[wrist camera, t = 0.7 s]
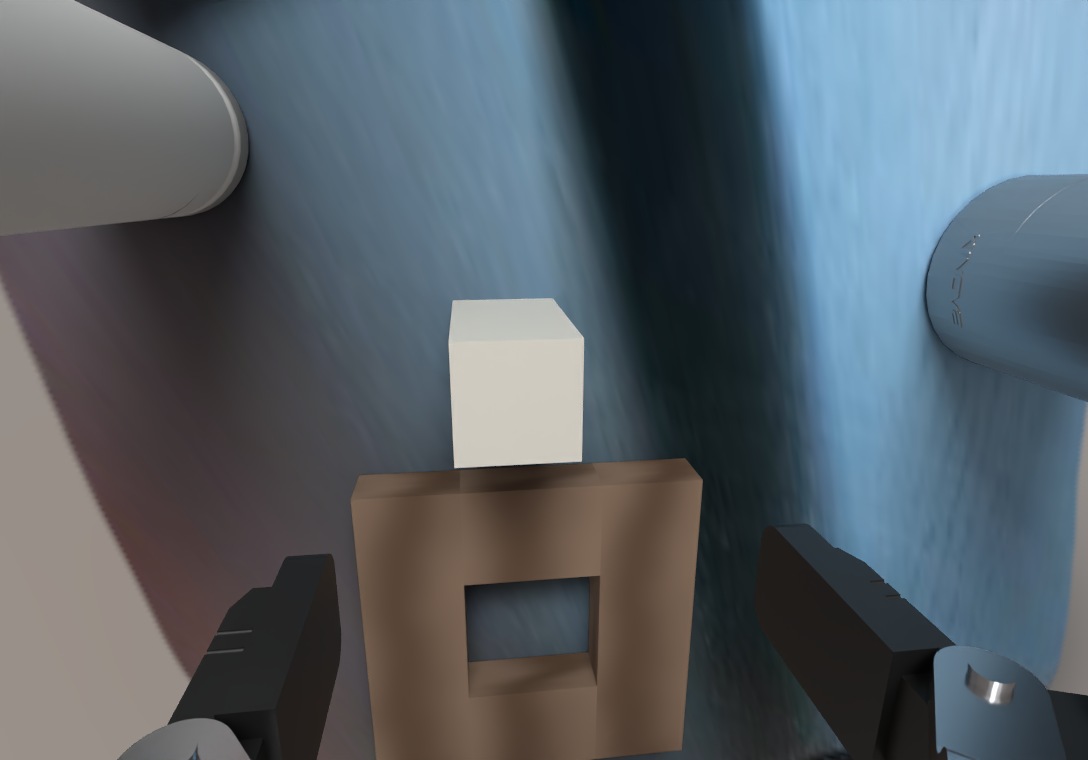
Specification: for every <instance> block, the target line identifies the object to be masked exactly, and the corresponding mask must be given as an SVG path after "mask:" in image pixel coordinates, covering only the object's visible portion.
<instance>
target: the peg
mask: <svg viewBox="0 0 1088 760" xmlns="http://www.w3.org/2000/svg"><path fill="white" fill-rule="evenodd" d="M449 362H450V384H451V405H452V427H453V449H454V468H465V467H485V466H504V465H524V464H543V463H563V462H582V425H583V367H584V338H583V336H582V335H581V334H580V333H579V331H578V330H577V329H576V327H575V326H574V325H573V324H572V322H571V321H570V320H569V319H568V317H567V316H566V315H565V314H564V312H563V311H562V310H561V308H560V307H559V306H558V305H557V303H556V302H555V301H554V300H553V298H549V299H502V300H456V301H453V303H452V313H451V323H450V333H449Z"/></svg>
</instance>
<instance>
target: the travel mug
mask: <svg viewBox="0 0 1088 760" xmlns="http://www.w3.org/2000/svg"><path fill="white" fill-rule="evenodd" d="M247 158H248V133H247V128H246V123H245V119H244V117H243V114H242V112H241V109H240V107H239V104H238V103H237V101H236V99H235V98H234V96H233V94H232V93H231V91H230V90H229V88H228V87H227V86H226V85H225V84H224V82H223V81H222V80H221V79H220V78H219V77H218V76H217V75H216V74H215V73H214V72H213V71H211V70H210V69H209V68H208V67H207V66H205V65H204V64H203V63H201V62H199V61H198V60H196V59H194V58H192V57H191V56H189V55H187V54H185V53H183V52H181V51H179V50H177V49H174V48H172V47H170V46H168V45H166V44H164V43H162V42H160V41H158V40H156V39H154V38H151V37H149V36H147V35H145V34H143V33H141V32H139V31H137V30H135V29H133V28H130V27H128V26H126V25H124V24H122V23H120V22H118V21H116V20H114V19H112V18H110V17H107V16H105V15H103V14H101V13H99V12H97V11H95V10H93V9H91V8H89V7H86V6H84V5H82V4H80V3H78V2H76V1H74V0H0V236H3V235H12V234H22V233H31V232H41V231H50V230H59V229H69V228H78V227H88V226H97V225H106V224H116V223H125V222H134V221H144V220H153V219H163V218H172V217H181V216H191V215H195V214H198V213H202V212H205V211H208V210H210V209H211V208H213V207H215V206H217V205H219V204H220V203H221V202H223V201H224V200H225V199H226V198H227V197H228V196H229V195H230V194H231V193H232V192H233V190H234V189H235V188H236V186H237V185H238V184H239V182H240V180H241V177H242V175H243V173H244V170H245V168H246V163H247Z"/></svg>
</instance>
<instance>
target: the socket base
mask: <svg viewBox="0 0 1088 760" xmlns="http://www.w3.org/2000/svg"><path fill="white" fill-rule="evenodd" d="M702 483H703V480H702V479H701V477H700V476H699V475H698V474H697V472H696V471H695V470H694V469H693V468H692V466H691V465H690V464H689V463H688V461H687V460H686V459H685V458H682V459H663V460H643V461H624V462H605V463H586V464H567V465H547V466H528V467H509V468H490V469H470V470H451V471H432V472H413V473H394V474H374V475H359V478H358V481H357V483H356V486H355V489H354V492H353V494H352V497H351V509H352V519H353V530H354V540H355V550H356V560H357V570H358V580H359V590H360V600H361V610H362V620H363V630H364V640H365V650H366V660H367V670H368V680H369V690H370V700H371V710H372V720H373V730H374V740H375V750H376V760H591V759H601V758H610V757H620V756H629V755H639V754H648V753H657V752H667V751H676V750H682V738H683V726H684V713H685V700H686V687H687V675H688V662H689V649H690V636H691V623H692V611H693V598H694V585H695V572H696V559H697V547H698V534H699V521H700V508H701V495H702ZM587 576H590V587H589V631H588V652H583V653H571V654H560V655H548V656H537V657H525V658H514V659H502V660H490V661H479V662H468V640H467V617H466V594H465V585H477V584H491V583H505V582H519V581H532V580H546V579H560V578H574V577H587Z"/></svg>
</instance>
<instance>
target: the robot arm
mask: <svg viewBox="0 0 1088 760" xmlns="http://www.w3.org/2000/svg"><path fill="white" fill-rule="evenodd" d="M926 298H927V305H928V313H929V316H930V319H931V322H932V324H933V327H934V330H935V332H936V333H937V334H938V336H939V337H940V339H941V340H942V342H943V343H944V344H945V345H946V346H947V347H948V348H949V349H951V350H952V351H953V352H954V353H955V354H956V355H958V356H961V357H963V358H965V359H967V360H969V361H971V362H974V363H977V364H980V365H983V366H986V367H989V368H992V369H994V370H997V371H1000V372H1003V373H1006V374H1009V375H1012V376H1015V377H1018V378H1021V379H1023V380H1026V381H1029V382H1032V383H1034V384H1037V385H1040V386H1043V387H1045V388H1048V389H1051V390H1054V391H1057V392H1060V393H1063V394H1066V395H1069V396H1072V397H1075V398H1078V399H1080V400H1083V401H1086V402H1088V174H1075V175H1030V176H1023V177H1019V178H1014V179H1010V180H1007V181H1004V182H1002V183H1000V184H998V185H996V186H993V187H991V188H989V189H988V190H986V191H985V192H983V193H982V194H980V195H979V196H978V197H976V198H975V199H973V200H972V201H971V202H970V203H969V204H968V205H967V206H966V207H965V208H964V209H963V210H962V211H961V212H960V213H959V214H958V215H957V216H956V217H955V218H954V220H953V221H952V223H951V224H950V225H949V227H948V228H947V230H946V231H945V233H944V234H943V236H942V238H941V240H940V242H939V244H938V246H937V248H936V250H935V253H934V255H933V258H932V262H931V265H930V269H929V273H928V279H927V292H926ZM755 610H756V615H757V619H758V622H759V624H760V626H761V629H762V630H763V632H764V633H765V635H766V636H767V638H768V639H769V641H770V642H771V643H772V645H773V646H774V648H775V649H776V651H777V652H778V653H779V655H780V656H781V658H782V659H783V661H784V662H785V663H786V665H787V666H788V668H789V669H790V670H791V672H792V673H793V675H794V676H795V678H796V679H797V680H798V682H799V683H800V685H801V686H802V688H803V689H804V690H805V692H806V693H807V695H808V696H809V698H810V699H811V700H812V702H813V703H814V705H815V706H816V708H817V709H818V710H819V712H820V713H821V715H822V716H823V718H824V719H825V720H826V722H827V723H828V725H829V726H830V728H831V729H832V730H833V732H834V733H835V735H836V736H837V737H838V739H839V740H840V742H841V743H842V745H843V746H844V747H845V749H846V750H847V752H848V753H849V755H850V756H851V757H852V759H853V760H1088V696H1087V695H1080V694H1073V693H1066V692H1059V691H1052V690H1047V689H1046V688H1045V686H1044V685H1043V684H1042V682H1041V681H1040V680H1039V679H1038V678H1037V677H1036V676H1034V675H1033V674H1032V673H1031V672H1030V671H1028V670H1027V669H1025V668H1024V667H1023V666H1021V665H1019V664H1018V663H1016V662H1014V661H1012V660H1010V659H1008V658H1006V657H1004V656H1002V655H999V654H997V653H994V652H991V651H988V650H985V649H981V648H977V647H971V646H957V645H955V644H954V643H953V642H952V641H951V640H950V639H949V638H948V637H947V636H945V635H944V634H943V633H942V632H941V631H940V630H939V629H938V628H937V627H936V626H934V625H933V624H932V623H931V622H930V621H929V620H928V619H927V618H926V617H925V616H923V615H922V614H921V613H920V612H919V611H918V610H917V609H916V608H915V607H913V606H912V605H911V604H910V603H909V602H908V601H907V600H906V599H905V598H901V597H900V594H899V593H898V592H897V591H896V590H895V589H894V588H892V587H891V586H890V585H889V584H888V583H886V584H885V583H884V579H883V578H881V577H880V576H879V575H878V574H877V573H876V572H875V571H874V570H873V569H872V568H870V567H869V566H868V565H867V564H866V563H865V562H863V561H861V560H859V559H858V558H856V557H854V556H852V555H850V554H848V553H846V552H845V551H843V550H841V549H839V548H834V547H833V546H831V545H830V544H829V543H828V542H827V541H826V540H825V539H824V538H823V537H822V536H821V535H820V534H819V533H818V532H817V531H816V530H814V529H813V528H812V527H811V526H810V525H808V524H793V525H778V526H768V527H766V528H765V530H764V531H763V534H762V538H761V546H760V555H759V563H758V571H757V580H756V588H755ZM340 652H341V626H340V616H339V606H338V596H337V586H336V575H335V566H334V560H333V557H332V555H331V554H318V555H303V556H288V557H286V558H285V560H284V562H283V564H282V566H281V568H280V570H279V573H278V575H277V577H276V579H275V581H274V584H273V586H272V587H265V588H252V589H251V590H250V591H249V592H248V593H247V594H246V595H244V596H243V597H242V598H241V599H240V600H239V601H238V602H236V603H235V604H234V605H233V606H232V607H231V608H229V610H228V612H227V614H226V616H225V618H224V620H223V621H222V623H221V625H220V627H219V629H218V631H217V636H214V638H213V640H212V642H211V644H210V646H209V648H208V650H207V655H204V657H203V659H202V661H201V663H200V665H199V666H198V668H197V670H196V672H195V674H194V676H193V678H192V680H191V681H190V683H189V685H188V687H187V689H186V691H185V693H184V695H183V697H182V698H181V700H180V702H179V704H178V706H177V708H176V710H175V711H174V713H173V715H172V717H171V719H170V721H169V723H168V725H167V726H164V727H162V728H160V729H157V730H155V731H153V732H152V733H150V734H148V735H146V736H145V737H143V738H142V739H140V740H139V741H138V742H136V743H134V744H133V745H132V746H131V747H130V748H129V749H127V750H126V751H125V752H124V753H123V754H122V755H121V756H120V757H119V759H117V760H316V759H317V755H318V751H319V747H320V743H321V738H322V734H323V730H324V726H325V722H326V718H327V713H328V709H329V705H330V701H331V697H332V692H333V688H334V684H335V680H336V676H337V672H338V667H339V661H340Z"/></svg>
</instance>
